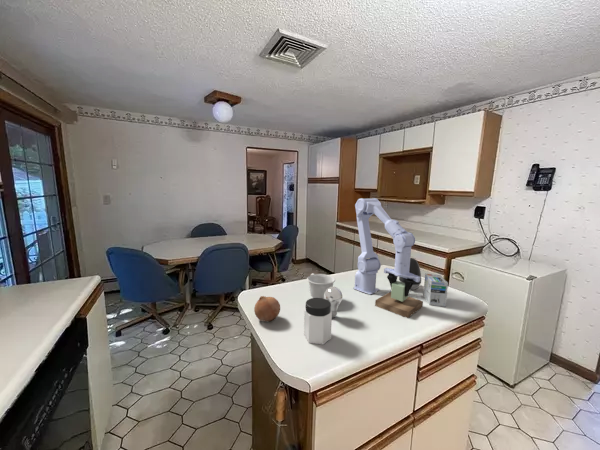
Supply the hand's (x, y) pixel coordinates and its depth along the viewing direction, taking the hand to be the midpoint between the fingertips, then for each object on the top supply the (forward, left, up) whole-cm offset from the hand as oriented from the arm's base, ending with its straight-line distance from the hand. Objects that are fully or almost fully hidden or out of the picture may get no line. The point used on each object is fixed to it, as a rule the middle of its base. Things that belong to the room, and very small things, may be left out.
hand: (399, 293), depth 109 cm
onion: (-28, -47, -6) cm, 55 cm away
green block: (0, 0, -2) cm, 2 cm away
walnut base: (0, 0, -6) cm, 6 cm away
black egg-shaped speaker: (-6, +24, -6) cm, 25 cm away
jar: (-8, -42, -6) cm, 43 cm away
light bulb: (-13, -28, -6) cm, 31 cm away
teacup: (-27, -20, -6) cm, 34 cm away
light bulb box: (+8, +17, -6) cm, 20 cm away
